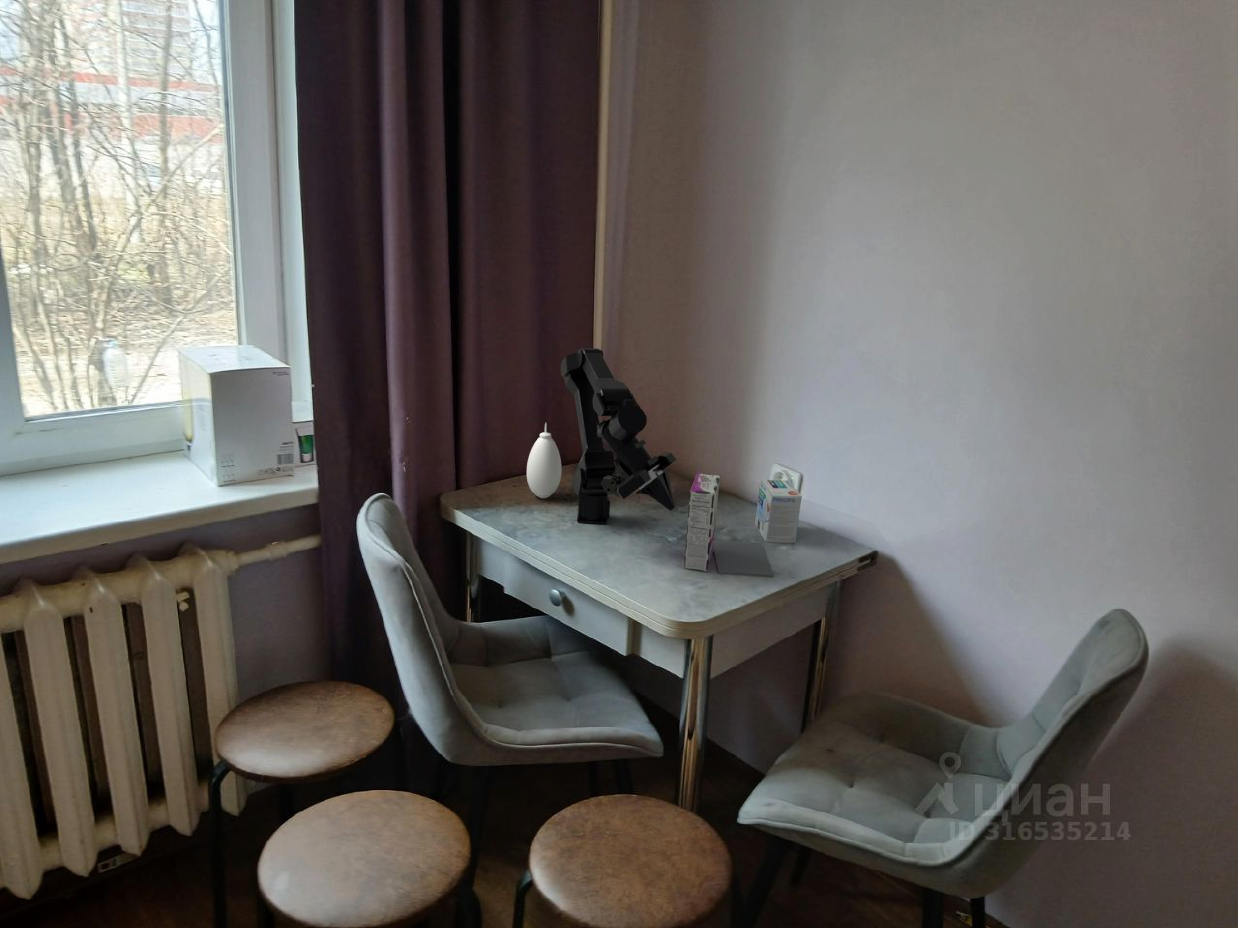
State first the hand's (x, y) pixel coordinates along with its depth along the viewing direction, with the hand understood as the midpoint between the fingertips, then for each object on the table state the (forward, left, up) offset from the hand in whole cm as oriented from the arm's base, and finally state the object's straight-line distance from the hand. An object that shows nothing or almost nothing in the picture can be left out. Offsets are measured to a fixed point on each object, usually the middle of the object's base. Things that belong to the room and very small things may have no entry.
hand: (672, 509), depth 171 cm
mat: (+15, +1, -10) cm, 18 cm away
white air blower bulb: (-28, +30, -10) cm, 42 cm away
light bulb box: (+24, +16, -10) cm, 30 cm away
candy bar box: (+6, -1, -10) cm, 12 cm away
